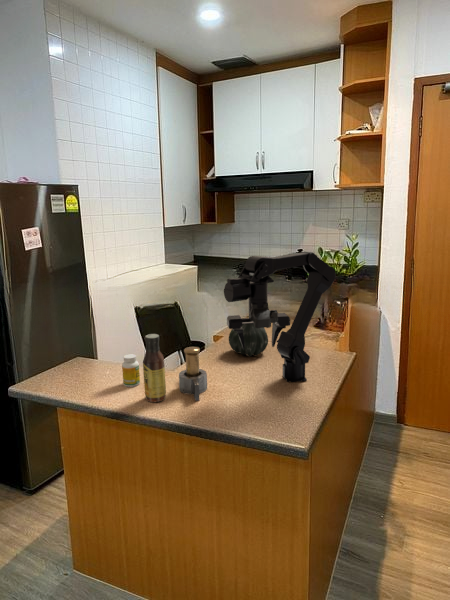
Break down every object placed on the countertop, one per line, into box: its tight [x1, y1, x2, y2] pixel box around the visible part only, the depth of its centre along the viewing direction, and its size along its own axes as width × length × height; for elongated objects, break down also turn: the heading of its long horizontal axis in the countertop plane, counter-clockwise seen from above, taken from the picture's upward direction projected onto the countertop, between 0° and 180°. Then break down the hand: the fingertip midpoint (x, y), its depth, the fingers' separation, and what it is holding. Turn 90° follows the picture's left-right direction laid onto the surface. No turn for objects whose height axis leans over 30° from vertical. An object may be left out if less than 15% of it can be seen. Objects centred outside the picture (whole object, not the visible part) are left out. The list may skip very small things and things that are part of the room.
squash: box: [228, 324, 269, 357], centre depth 170 cm, size 14×15×15 cm
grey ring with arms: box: [178, 368, 208, 402], centre depth 139 cm, size 18×8×5 cm, turn 11°
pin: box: [183, 346, 201, 377], centre depth 138 cm, size 5×5×13 cm
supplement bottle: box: [121, 353, 141, 388], centre depth 143 cm, size 5×5×10 cm
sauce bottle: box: [142, 333, 167, 403], centre depth 130 cm, size 7×6×20 cm
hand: (258, 347), depth 136 cm, fingers open, 9 cm apart
